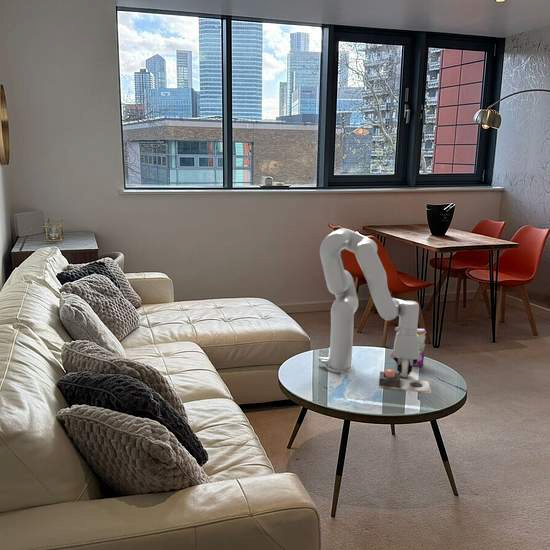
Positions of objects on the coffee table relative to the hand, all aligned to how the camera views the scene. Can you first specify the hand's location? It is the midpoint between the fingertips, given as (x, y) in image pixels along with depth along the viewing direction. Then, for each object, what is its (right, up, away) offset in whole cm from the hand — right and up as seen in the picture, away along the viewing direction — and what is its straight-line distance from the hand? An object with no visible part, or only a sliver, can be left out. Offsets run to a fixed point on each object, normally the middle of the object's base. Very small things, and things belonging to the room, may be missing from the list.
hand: (404, 372), depth 242 cm
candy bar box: (+6, +1, +17) cm, 18 cm away
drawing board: (-2, -4, -9) cm, 10 cm away
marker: (0, -2, 0) cm, 2 cm away
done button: (-8, -1, -9) cm, 12 cm away
